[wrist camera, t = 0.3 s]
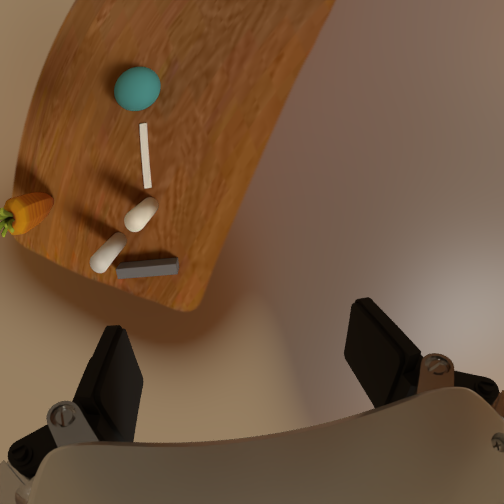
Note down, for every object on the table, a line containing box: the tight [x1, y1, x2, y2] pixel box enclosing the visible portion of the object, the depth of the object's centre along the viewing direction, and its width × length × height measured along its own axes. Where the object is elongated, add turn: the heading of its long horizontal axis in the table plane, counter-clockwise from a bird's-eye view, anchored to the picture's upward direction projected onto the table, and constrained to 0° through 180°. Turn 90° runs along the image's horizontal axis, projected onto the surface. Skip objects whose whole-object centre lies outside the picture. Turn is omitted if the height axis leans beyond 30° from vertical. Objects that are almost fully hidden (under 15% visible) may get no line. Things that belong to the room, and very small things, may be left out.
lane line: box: [140, 123, 152, 188], centre depth 35 cm, size 9×1×1 cm, turn 3°
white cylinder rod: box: [90, 232, 127, 273], centre depth 34 cm, size 2×2×9 cm
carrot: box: [0, 192, 54, 237], centre depth 28 cm, size 5×5×15 cm
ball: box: [114, 67, 160, 111], centre depth 29 cm, size 6×6×6 cm
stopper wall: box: [116, 257, 179, 279], centre depth 39 cm, size 2×9×2 cm, turn 92°
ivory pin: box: [124, 197, 159, 232], centre depth 33 cm, size 2×2×9 cm
